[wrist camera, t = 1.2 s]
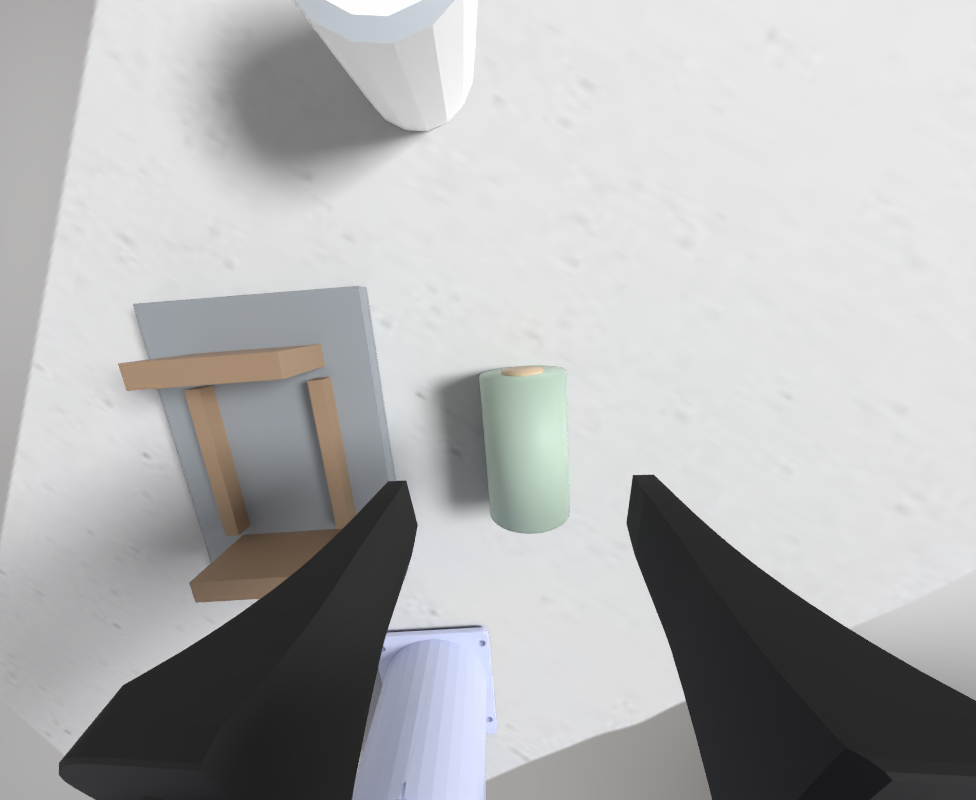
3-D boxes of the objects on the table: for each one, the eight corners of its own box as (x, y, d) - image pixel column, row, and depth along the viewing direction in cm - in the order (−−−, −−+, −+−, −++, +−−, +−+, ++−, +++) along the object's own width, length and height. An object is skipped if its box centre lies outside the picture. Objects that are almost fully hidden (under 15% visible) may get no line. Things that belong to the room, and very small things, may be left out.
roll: (557, 489, 23) (580, 531, 18) (488, 496, 22) (493, 540, 18) (554, 360, 21) (577, 372, 16) (477, 367, 20) (480, 381, 16)
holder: (408, 567, 24) (386, 636, 19) (233, 578, 24) (164, 648, 19) (366, 287, 19) (322, 278, 14) (154, 304, 20) (37, 301, 15)
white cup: (318, 83, 17) (205, -69, 10) (394, -63, 16) (322, -348, 9) (435, 176, 18) (401, 93, 11) (515, 46, 17) (533, -137, 10)
